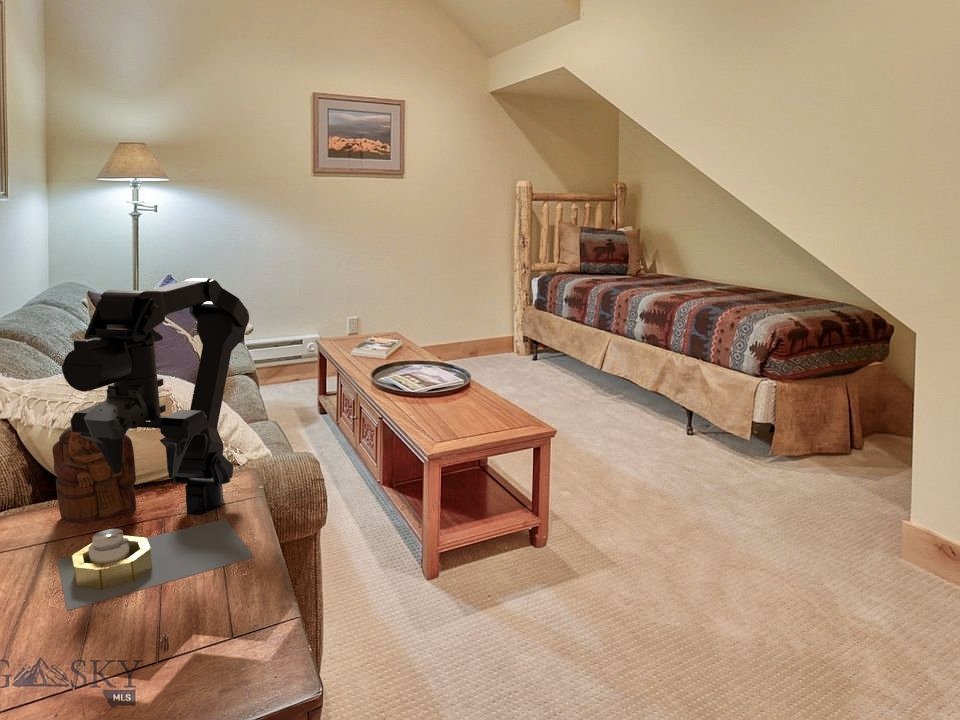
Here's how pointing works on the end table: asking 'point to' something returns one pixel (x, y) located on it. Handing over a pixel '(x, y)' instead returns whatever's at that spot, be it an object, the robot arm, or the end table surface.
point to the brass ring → (112, 566)
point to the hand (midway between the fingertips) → (144, 475)
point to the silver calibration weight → (108, 547)
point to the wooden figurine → (92, 480)
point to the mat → (166, 561)
